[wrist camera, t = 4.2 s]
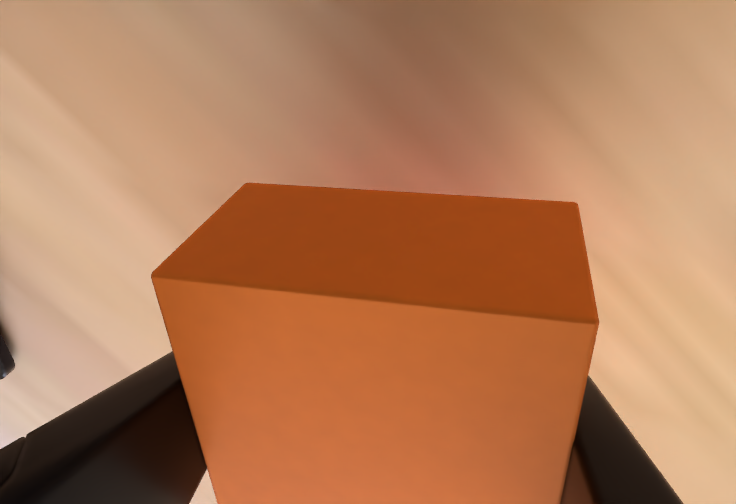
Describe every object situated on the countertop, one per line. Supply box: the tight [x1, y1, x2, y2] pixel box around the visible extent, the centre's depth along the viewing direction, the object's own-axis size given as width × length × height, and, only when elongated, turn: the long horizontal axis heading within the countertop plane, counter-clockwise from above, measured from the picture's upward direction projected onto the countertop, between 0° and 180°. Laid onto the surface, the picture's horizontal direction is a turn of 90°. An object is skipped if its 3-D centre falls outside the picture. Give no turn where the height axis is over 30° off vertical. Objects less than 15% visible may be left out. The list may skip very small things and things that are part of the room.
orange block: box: [151, 183, 599, 504], centre depth 9 cm, size 6×6×3 cm
